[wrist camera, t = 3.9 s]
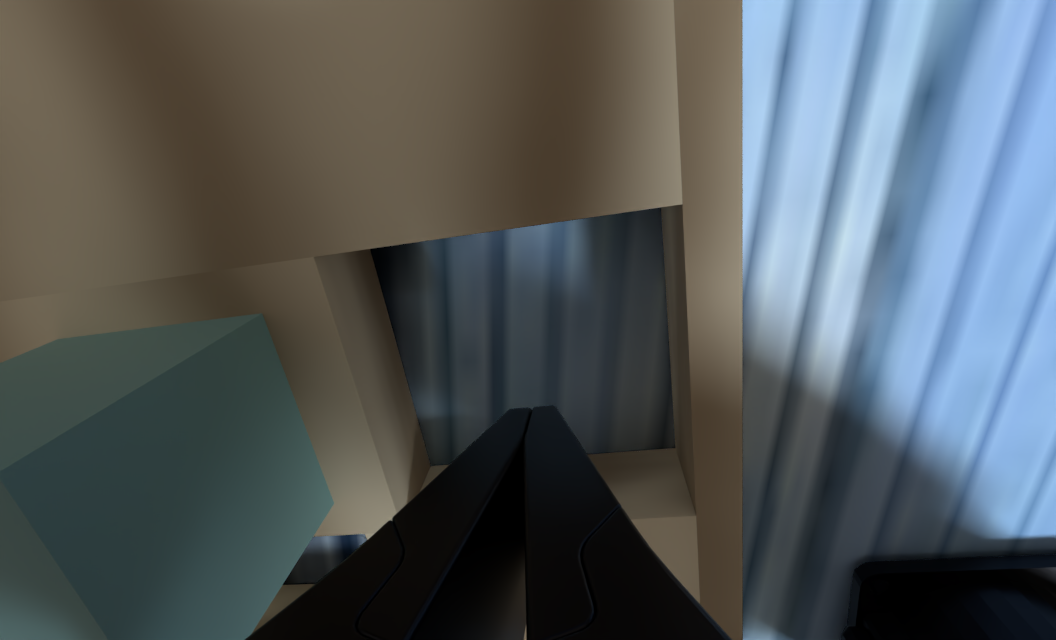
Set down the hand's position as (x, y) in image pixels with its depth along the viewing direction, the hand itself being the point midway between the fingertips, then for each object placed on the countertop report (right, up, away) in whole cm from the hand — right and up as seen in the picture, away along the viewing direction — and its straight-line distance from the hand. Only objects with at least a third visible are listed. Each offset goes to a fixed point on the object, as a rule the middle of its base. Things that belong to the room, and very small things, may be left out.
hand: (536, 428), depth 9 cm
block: (-8, 0, +2) cm, 8 cm away
